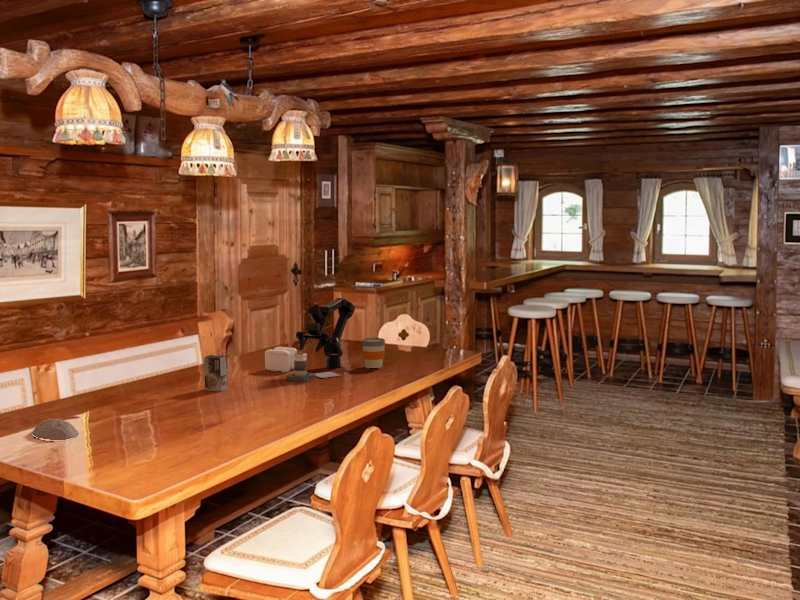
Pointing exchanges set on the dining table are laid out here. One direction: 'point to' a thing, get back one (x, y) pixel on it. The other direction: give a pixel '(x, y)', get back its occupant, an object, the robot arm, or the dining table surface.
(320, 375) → the rubber mat
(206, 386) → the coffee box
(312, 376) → the reel dock
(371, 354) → the reusable coffee cup
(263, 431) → the dining table surface
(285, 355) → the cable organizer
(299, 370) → the cable reel
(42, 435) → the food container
